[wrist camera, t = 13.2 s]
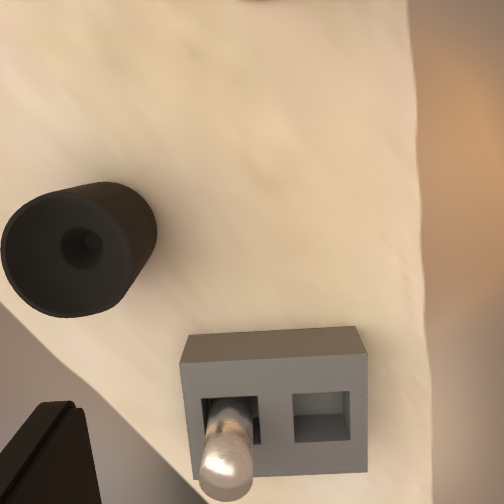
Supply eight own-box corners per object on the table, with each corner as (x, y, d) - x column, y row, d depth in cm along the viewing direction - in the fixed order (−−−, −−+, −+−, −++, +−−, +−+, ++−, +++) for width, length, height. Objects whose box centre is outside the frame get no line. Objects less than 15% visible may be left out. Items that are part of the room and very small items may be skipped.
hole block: (188, 335, 45) (179, 363, 40) (354, 326, 44) (367, 353, 39) (200, 440, 48) (193, 479, 43) (355, 433, 47) (367, 472, 42)
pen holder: (81, 158, 41) (25, 168, 31) (178, 205, 42) (154, 230, 32) (45, 250, 43) (-17, 287, 33) (138, 293, 44) (104, 341, 34)
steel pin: (209, 380, 44) (194, 459, 34) (250, 375, 44) (249, 453, 34) (215, 416, 45) (202, 504, 35) (255, 411, 45) (255, 498, 35)
